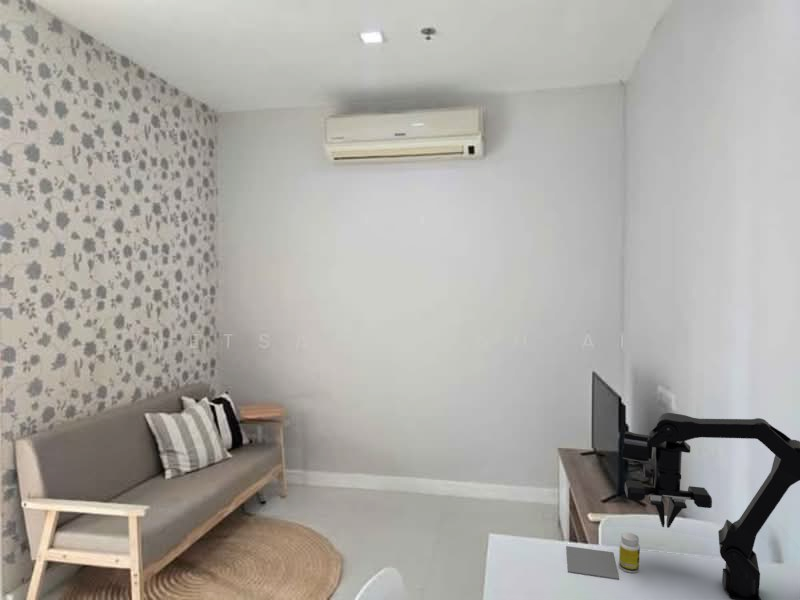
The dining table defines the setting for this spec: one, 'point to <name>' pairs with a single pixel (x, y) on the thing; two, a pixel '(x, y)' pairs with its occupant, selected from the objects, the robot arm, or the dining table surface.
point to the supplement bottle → (629, 553)
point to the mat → (591, 562)
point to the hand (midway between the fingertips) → (665, 526)
